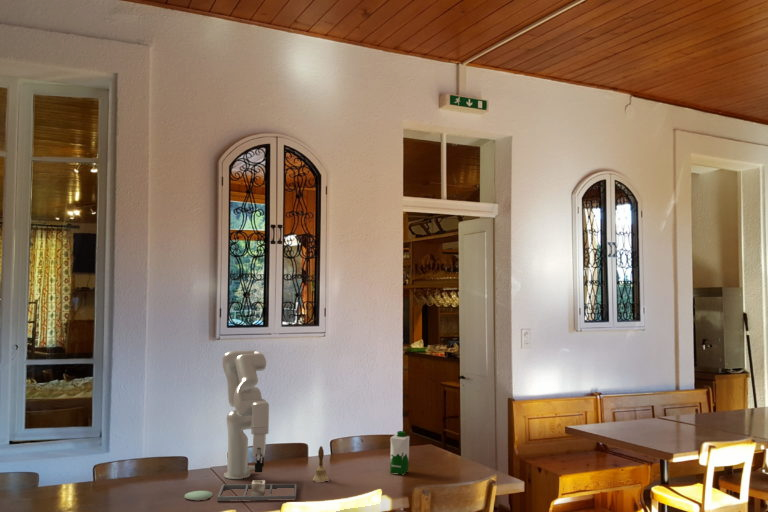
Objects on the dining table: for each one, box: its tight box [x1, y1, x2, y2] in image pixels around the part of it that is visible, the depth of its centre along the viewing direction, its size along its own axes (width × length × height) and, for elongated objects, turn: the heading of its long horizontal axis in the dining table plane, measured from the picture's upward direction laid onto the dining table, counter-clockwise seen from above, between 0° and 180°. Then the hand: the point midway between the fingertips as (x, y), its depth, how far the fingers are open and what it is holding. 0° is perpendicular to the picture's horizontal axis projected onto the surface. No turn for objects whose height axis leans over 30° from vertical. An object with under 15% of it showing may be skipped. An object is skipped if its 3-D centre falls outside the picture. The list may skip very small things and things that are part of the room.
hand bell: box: [312, 446, 330, 481], centre depth 333 cm, size 8×8×16 cm
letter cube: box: [251, 479, 266, 496], centre depth 308 cm, size 6×6×6 cm
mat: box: [184, 490, 214, 500], centre depth 305 cm, size 12×12×1 cm
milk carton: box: [389, 430, 411, 474], centre depth 348 cm, size 9×9×20 cm
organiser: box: [216, 483, 297, 502], centre depth 308 cm, size 33×18×2 cm, turn 96°
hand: (259, 469), depth 307 cm, fingers open, 9 cm apart
